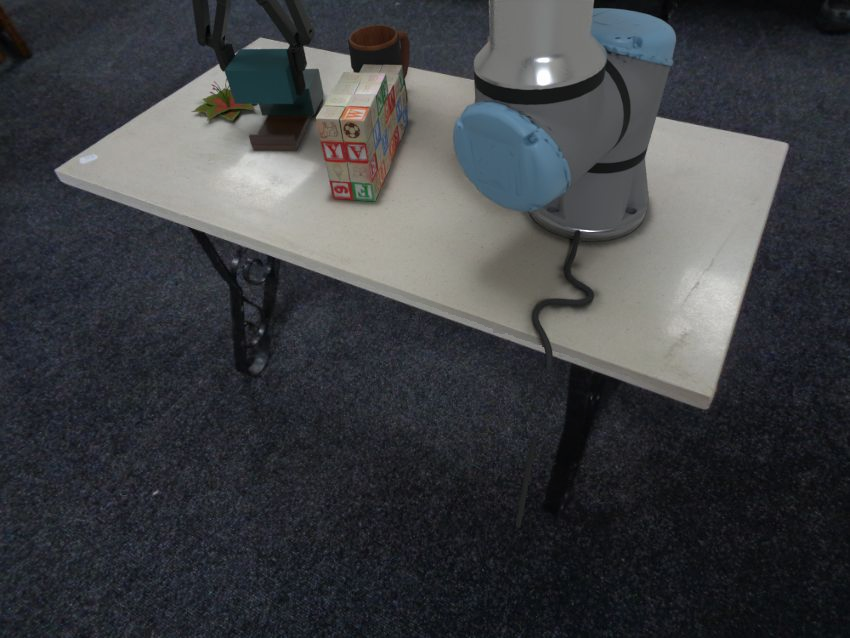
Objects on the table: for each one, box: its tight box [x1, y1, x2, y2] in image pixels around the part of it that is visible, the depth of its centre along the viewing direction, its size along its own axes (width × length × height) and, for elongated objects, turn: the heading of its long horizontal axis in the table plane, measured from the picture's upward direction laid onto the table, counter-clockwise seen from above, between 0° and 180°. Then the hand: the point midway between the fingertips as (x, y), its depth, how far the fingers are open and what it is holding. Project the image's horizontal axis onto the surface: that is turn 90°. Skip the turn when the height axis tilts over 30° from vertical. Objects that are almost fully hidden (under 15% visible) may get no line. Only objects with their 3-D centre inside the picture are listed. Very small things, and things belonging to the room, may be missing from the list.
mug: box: [347, 24, 411, 104], centre depth 90 cm, size 9×12×12 cm
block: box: [223, 48, 304, 105], centre depth 83 cm, size 7×9×5 cm
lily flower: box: [191, 78, 256, 122], centre depth 95 cm, size 12×12×5 cm
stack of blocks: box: [315, 64, 409, 202], centre depth 79 cm, size 21×6×12 cm, turn 169°
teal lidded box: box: [248, 68, 325, 152], centre depth 90 cm, size 17×9×6 cm, turn 174°
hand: (270, 91), depth 84 cm, fingers closed on block, 9 cm apart
